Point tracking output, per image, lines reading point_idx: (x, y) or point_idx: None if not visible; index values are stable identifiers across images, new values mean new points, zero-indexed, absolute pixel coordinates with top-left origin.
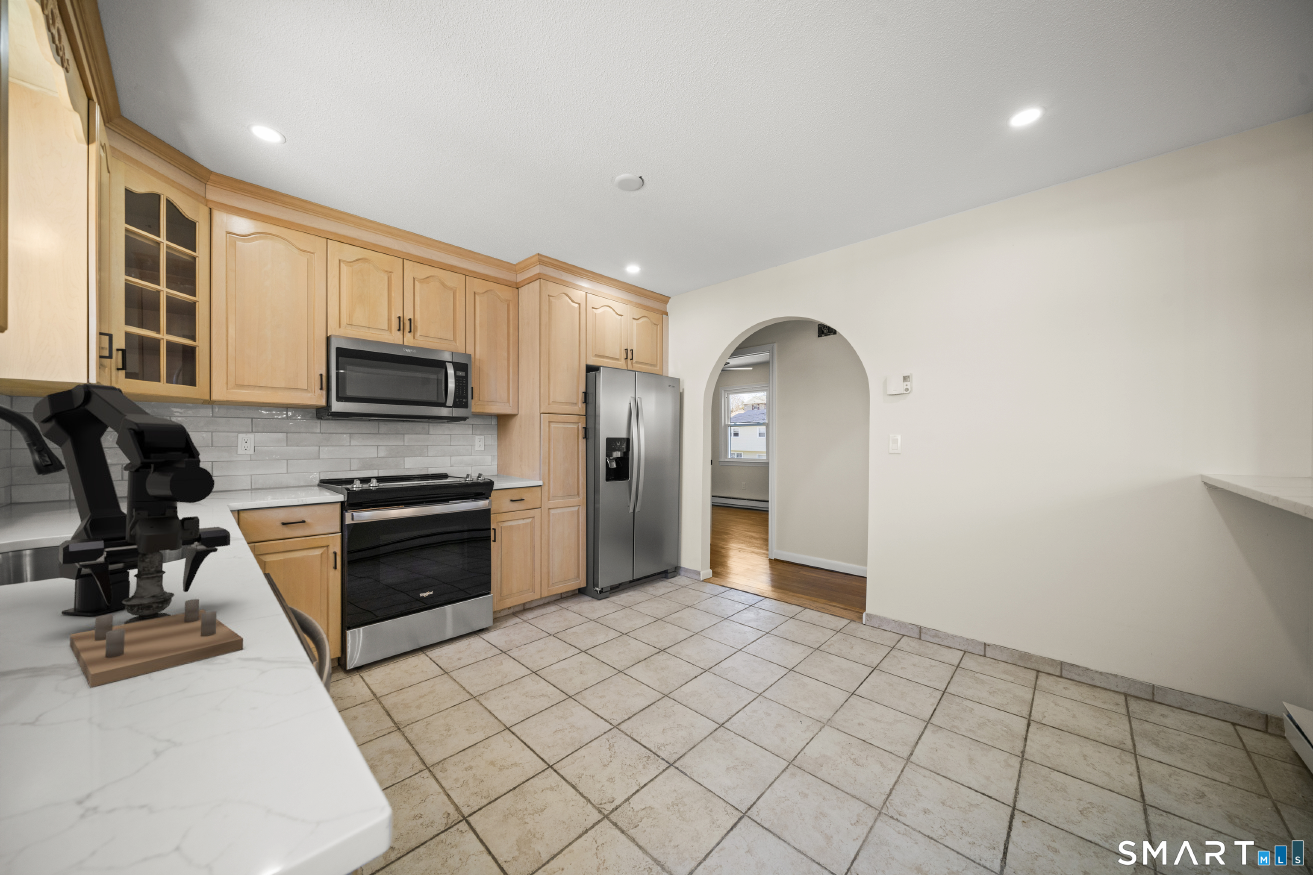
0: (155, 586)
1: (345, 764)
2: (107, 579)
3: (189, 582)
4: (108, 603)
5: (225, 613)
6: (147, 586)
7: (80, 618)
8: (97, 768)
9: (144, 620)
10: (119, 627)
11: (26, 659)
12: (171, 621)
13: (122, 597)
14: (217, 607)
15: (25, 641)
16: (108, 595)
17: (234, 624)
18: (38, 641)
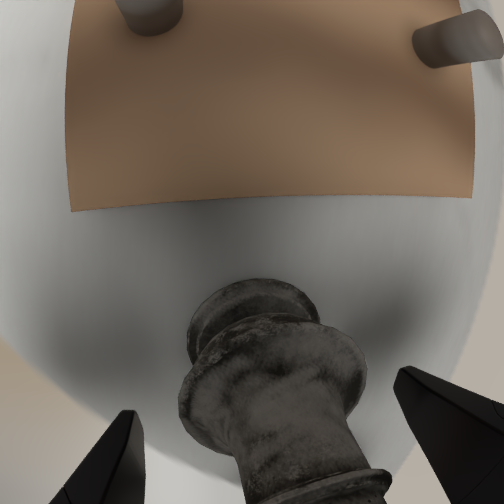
0: (280, 429)
1: None
2: (496, 419)
3: (108, 441)
4: (410, 366)
5: (20, 226)
6: (322, 424)
7: None
8: None
9: (276, 305)
10: (388, 154)
11: (495, 147)
12: (223, 63)
13: None
14: (50, 344)
15: (464, 316)
16: (436, 382)
17: (35, 22)
18: (459, 298)
